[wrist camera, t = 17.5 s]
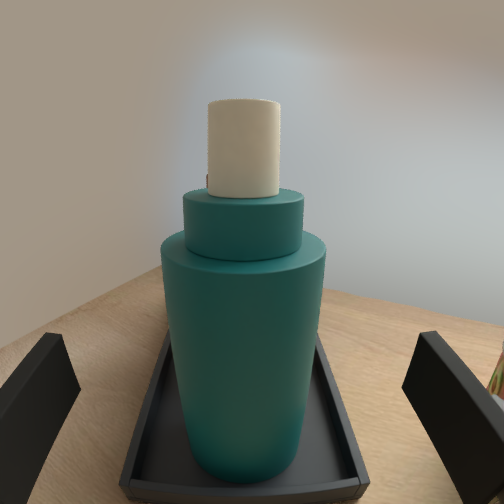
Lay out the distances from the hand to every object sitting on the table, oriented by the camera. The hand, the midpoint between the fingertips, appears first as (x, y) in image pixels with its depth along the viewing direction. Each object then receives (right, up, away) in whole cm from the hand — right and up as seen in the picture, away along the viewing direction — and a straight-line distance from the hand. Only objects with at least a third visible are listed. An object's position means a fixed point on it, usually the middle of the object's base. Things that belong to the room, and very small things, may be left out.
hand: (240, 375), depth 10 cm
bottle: (0, -8, +7) cm, 11 cm away
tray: (0, -5, +16) cm, 17 cm away
